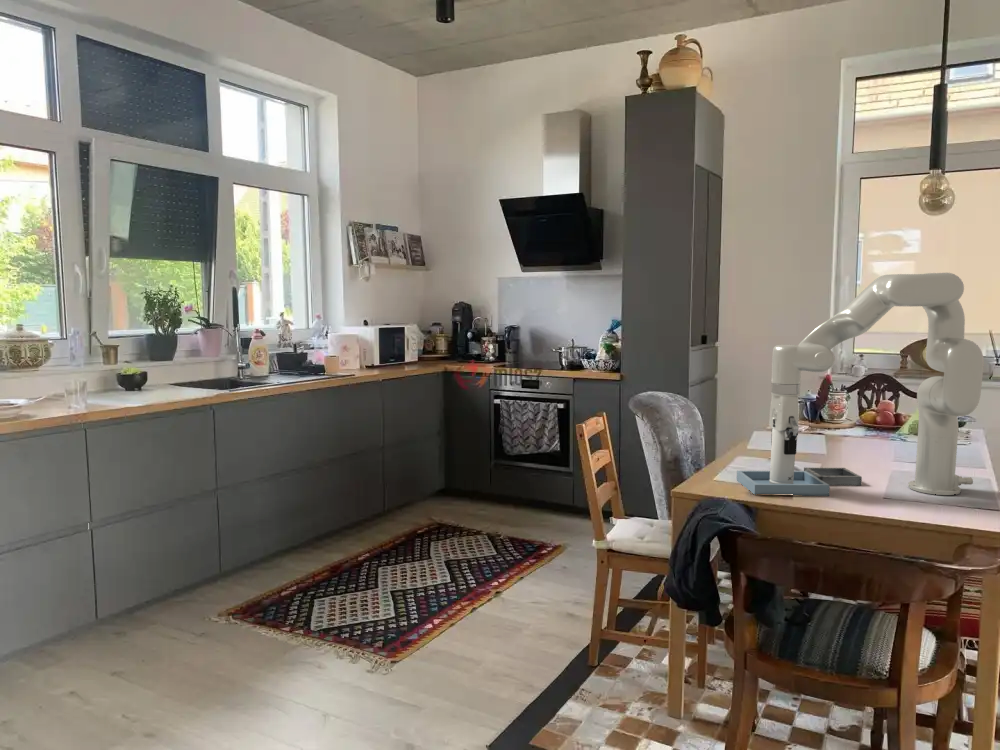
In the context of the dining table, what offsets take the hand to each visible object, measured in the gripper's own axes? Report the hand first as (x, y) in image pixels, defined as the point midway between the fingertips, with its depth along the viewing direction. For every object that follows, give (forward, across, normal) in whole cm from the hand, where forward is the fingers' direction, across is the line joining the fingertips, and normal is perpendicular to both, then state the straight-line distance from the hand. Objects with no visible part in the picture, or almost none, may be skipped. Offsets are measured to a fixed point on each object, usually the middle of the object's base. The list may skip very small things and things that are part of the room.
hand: (783, 450), depth 207 cm
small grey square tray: (+11, -9, +18) cm, 23 cm away
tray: (+11, 0, 0) cm, 11 cm away
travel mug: (+10, 0, 0) cm, 10 cm away
